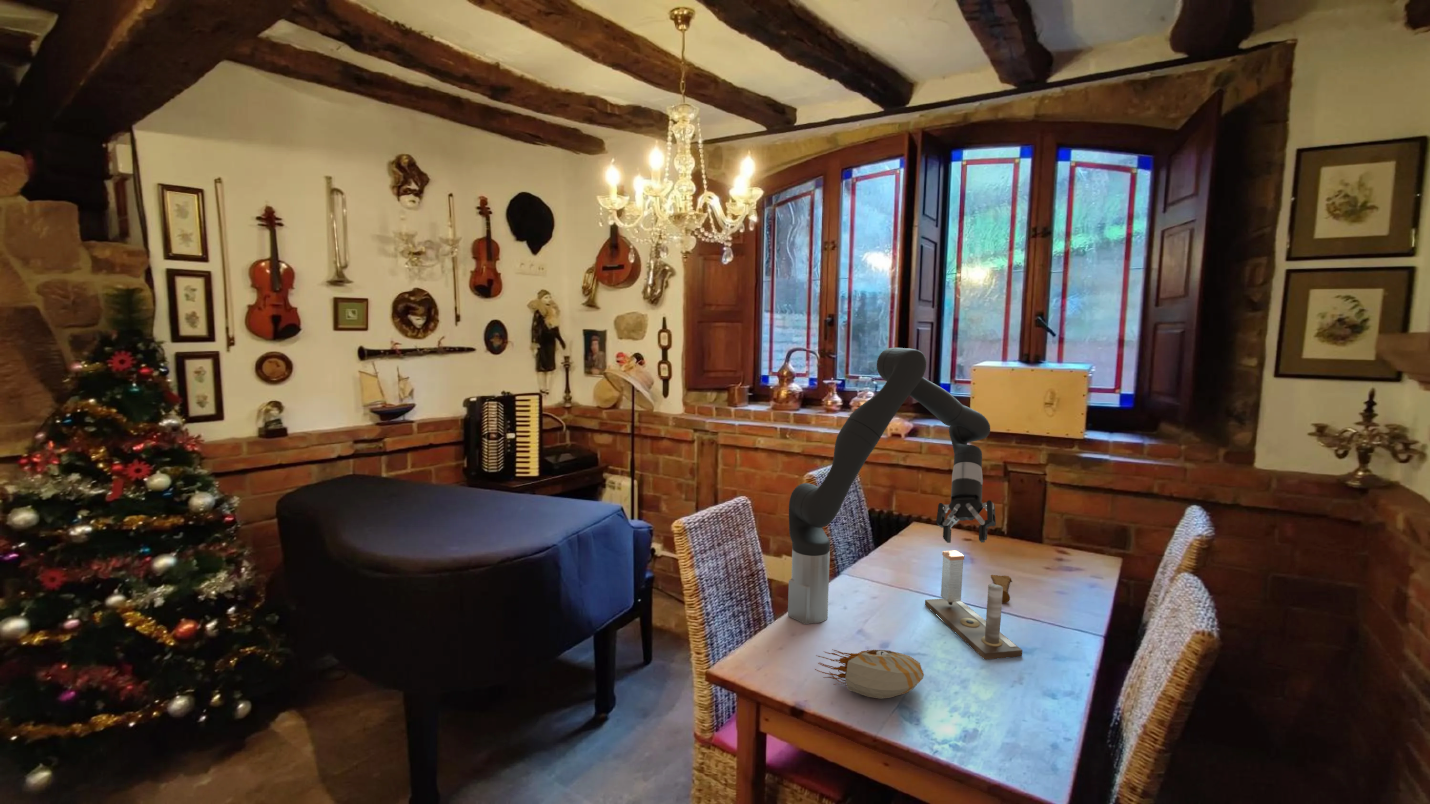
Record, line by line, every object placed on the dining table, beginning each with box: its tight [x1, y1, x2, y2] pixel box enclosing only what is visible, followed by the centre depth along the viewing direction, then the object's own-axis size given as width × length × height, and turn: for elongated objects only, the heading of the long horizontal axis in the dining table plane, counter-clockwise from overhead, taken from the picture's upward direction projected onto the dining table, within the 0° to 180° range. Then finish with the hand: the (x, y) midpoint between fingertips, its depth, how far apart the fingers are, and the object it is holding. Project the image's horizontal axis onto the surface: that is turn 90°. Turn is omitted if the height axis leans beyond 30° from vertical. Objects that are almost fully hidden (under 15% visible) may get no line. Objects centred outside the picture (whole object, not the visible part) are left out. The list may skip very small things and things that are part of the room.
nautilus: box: [814, 648, 925, 699], centre depth 130 cm, size 8×22×15 cm
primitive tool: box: [990, 574, 1013, 604], centre depth 177 cm, size 19×6×4 cm, turn 160°
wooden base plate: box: [924, 583, 1023, 661], centre depth 153 cm, size 27×9×14 cm, turn 10°
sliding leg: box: [940, 550, 965, 605], centre depth 162 cm, size 4×4×13 cm
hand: (964, 541), depth 161 cm, fingers open, 8 cm apart
